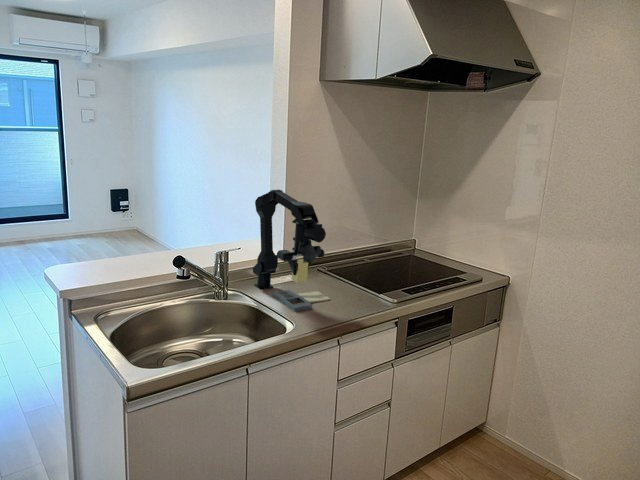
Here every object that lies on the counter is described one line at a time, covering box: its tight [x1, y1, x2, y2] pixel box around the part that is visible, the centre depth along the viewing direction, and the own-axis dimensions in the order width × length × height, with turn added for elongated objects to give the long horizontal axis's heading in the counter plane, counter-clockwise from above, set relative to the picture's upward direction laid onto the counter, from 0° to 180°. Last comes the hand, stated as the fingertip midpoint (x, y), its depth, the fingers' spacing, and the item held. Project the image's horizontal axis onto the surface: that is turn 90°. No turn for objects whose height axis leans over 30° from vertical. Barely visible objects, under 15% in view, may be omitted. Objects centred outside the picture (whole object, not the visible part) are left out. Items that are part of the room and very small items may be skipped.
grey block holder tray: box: [272, 289, 313, 312], centre depth 198 cm, size 18×8×2 cm, turn 34°
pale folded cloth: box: [297, 290, 331, 304], centre depth 205 cm, size 10×10×1 cm
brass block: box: [291, 258, 309, 284], centre depth 194 cm, size 4×4×8 cm
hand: (299, 274), depth 194 cm, fingers closed on brass block, 4 cm apart
